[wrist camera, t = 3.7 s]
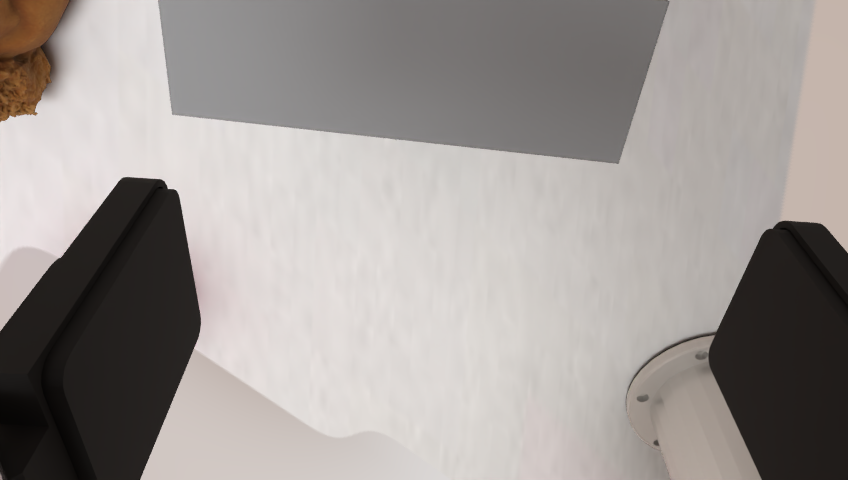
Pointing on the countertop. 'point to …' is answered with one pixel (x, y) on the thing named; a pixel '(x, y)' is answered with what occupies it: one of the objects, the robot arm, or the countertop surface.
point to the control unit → (419, 68)
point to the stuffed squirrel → (25, 52)
